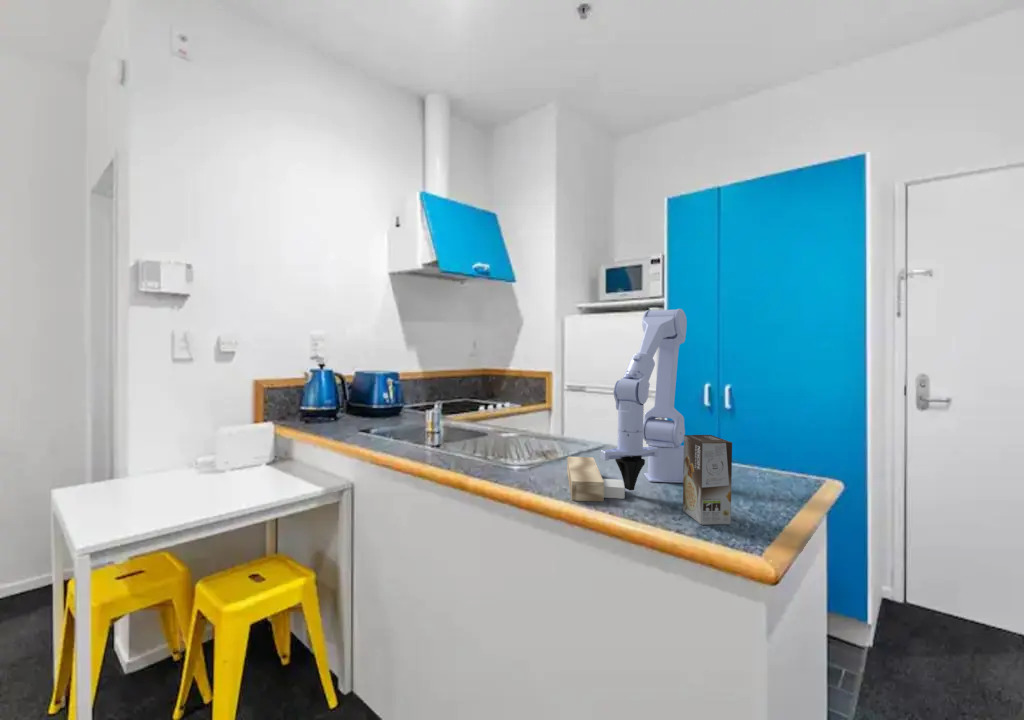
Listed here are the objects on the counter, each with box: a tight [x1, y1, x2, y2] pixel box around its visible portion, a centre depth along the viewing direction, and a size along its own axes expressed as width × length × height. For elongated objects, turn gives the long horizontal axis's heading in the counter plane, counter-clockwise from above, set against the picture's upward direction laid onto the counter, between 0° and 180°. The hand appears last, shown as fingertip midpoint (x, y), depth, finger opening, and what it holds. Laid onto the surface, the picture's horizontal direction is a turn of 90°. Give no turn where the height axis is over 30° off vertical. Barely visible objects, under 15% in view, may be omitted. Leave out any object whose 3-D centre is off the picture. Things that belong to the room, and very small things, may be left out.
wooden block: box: [566, 456, 605, 503], centre depth 125 cm, size 7×26×4 cm, turn 176°
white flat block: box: [602, 478, 626, 500], centre depth 118 cm, size 10×7×2 cm
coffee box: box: [682, 434, 733, 526], centre depth 102 cm, size 9×6×16 cm
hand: (629, 489), depth 117 cm, fingers closed
